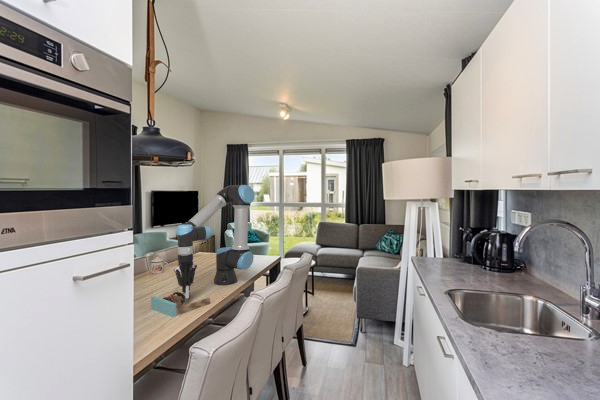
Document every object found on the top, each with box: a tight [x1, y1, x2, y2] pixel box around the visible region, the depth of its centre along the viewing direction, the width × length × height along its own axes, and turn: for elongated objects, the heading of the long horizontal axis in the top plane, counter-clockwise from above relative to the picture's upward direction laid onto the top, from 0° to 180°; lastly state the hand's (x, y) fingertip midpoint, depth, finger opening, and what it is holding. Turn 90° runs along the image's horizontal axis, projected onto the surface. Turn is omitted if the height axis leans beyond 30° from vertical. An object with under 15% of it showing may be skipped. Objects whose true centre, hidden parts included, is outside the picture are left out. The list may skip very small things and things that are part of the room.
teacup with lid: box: [150, 256, 169, 275], centre depth 229 cm, size 12×9×12 cm
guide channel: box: [173, 291, 211, 317], centre depth 160 cm, size 20×19×3 cm
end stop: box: [150, 295, 177, 318], centre depth 151 cm, size 2×19×6 cm, turn 55°
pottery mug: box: [161, 291, 186, 308], centre depth 158 cm, size 12×10×8 cm
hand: (186, 297), depth 162 cm, fingers closed
